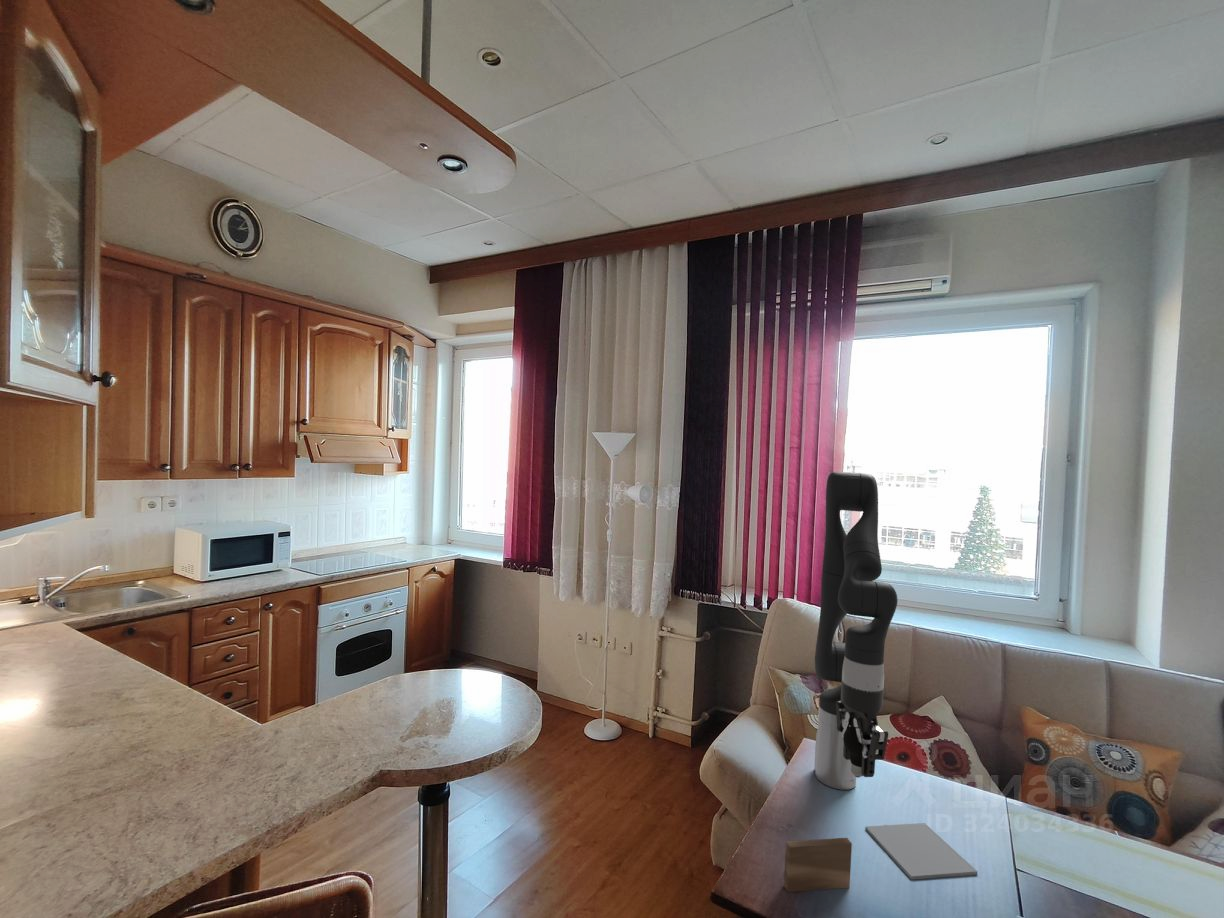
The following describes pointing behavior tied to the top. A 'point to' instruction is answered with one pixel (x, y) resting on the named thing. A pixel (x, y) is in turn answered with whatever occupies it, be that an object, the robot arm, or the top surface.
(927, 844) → the rubber mat
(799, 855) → the wooden toy block
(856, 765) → the light bulb
